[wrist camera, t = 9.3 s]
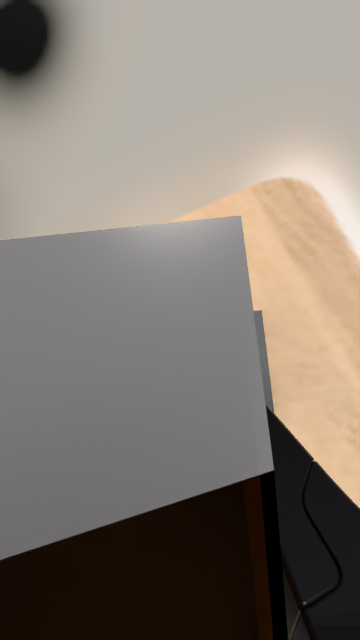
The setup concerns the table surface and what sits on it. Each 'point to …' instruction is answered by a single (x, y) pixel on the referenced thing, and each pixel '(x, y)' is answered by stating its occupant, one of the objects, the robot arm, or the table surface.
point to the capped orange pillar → (135, 439)
